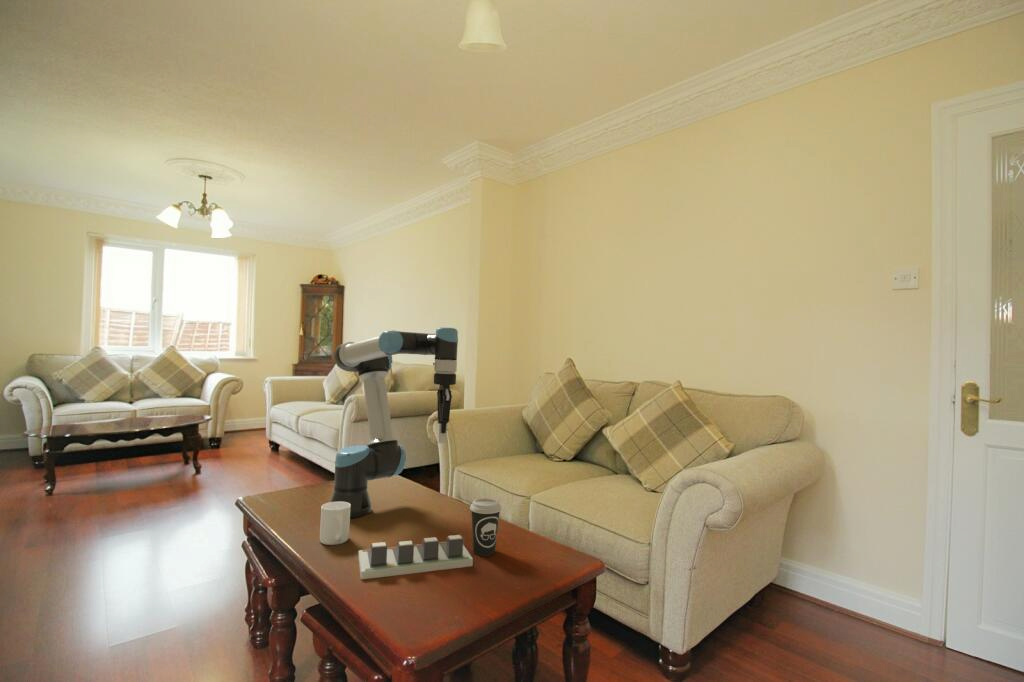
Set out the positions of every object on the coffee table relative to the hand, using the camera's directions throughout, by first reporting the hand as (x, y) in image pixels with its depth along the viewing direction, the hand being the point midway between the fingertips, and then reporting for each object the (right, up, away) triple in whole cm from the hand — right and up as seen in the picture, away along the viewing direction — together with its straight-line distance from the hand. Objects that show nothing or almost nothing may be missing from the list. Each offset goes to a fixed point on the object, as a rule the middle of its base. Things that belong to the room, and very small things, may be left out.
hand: (442, 442), depth 162 cm
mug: (-31, -28, -15) cm, 44 cm away
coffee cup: (+15, -30, -18) cm, 38 cm away
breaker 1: (-12, -25, -34) cm, 44 cm away
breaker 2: (-5, -26, -32) cm, 41 cm away
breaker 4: (+7, -26, -26) cm, 38 cm away
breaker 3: (+1, -26, -29) cm, 39 cm away
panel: (-4, -28, -27) cm, 39 cm away
